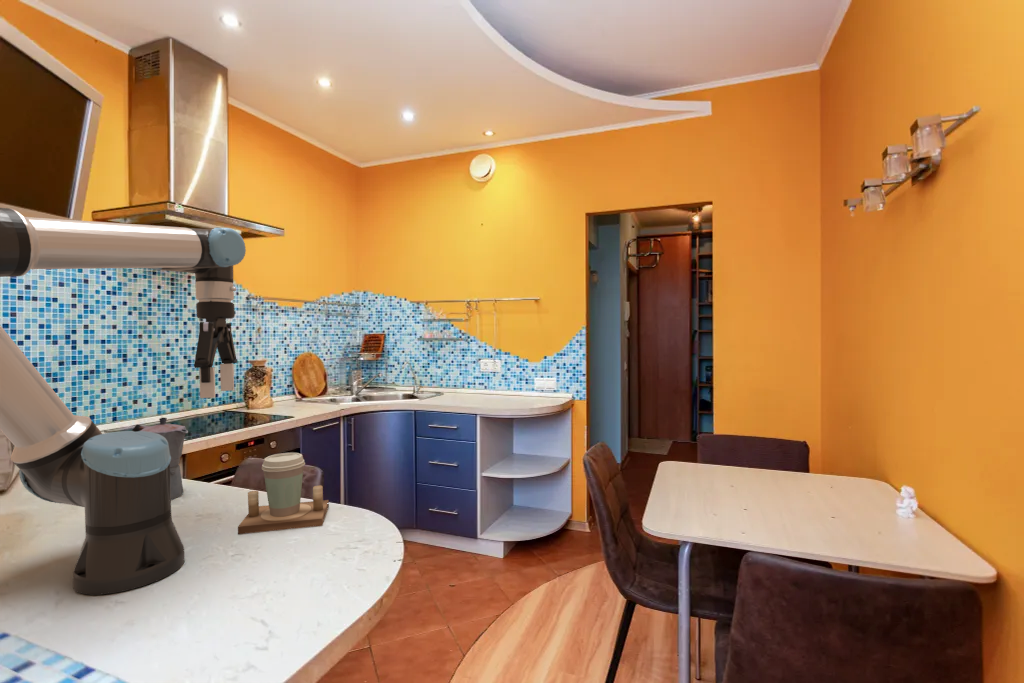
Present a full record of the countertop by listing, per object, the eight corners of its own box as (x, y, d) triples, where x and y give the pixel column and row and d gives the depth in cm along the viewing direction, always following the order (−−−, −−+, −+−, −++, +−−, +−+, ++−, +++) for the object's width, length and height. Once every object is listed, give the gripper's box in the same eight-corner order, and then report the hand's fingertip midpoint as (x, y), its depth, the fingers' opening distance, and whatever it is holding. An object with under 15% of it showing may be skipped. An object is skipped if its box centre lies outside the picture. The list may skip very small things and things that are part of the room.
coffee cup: (313, 505, 112) (312, 452, 112) (293, 520, 104) (292, 462, 104) (276, 504, 113) (275, 451, 113) (254, 519, 105) (252, 462, 104)
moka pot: (177, 503, 120) (174, 420, 120) (114, 504, 121) (111, 421, 120) (202, 490, 130) (200, 414, 129) (144, 491, 130) (141, 414, 130)
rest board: (322, 525, 105) (321, 494, 105) (238, 534, 101) (237, 502, 101) (328, 506, 117) (328, 478, 117) (253, 513, 113) (252, 484, 113)
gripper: (215, 297, 104) (218, 400, 104) (248, 304, 128) (250, 387, 128) (174, 297, 102) (177, 402, 102) (215, 304, 126) (218, 388, 127)
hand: (218, 394), depth 115 cm, fingers open, 13 cm apart
